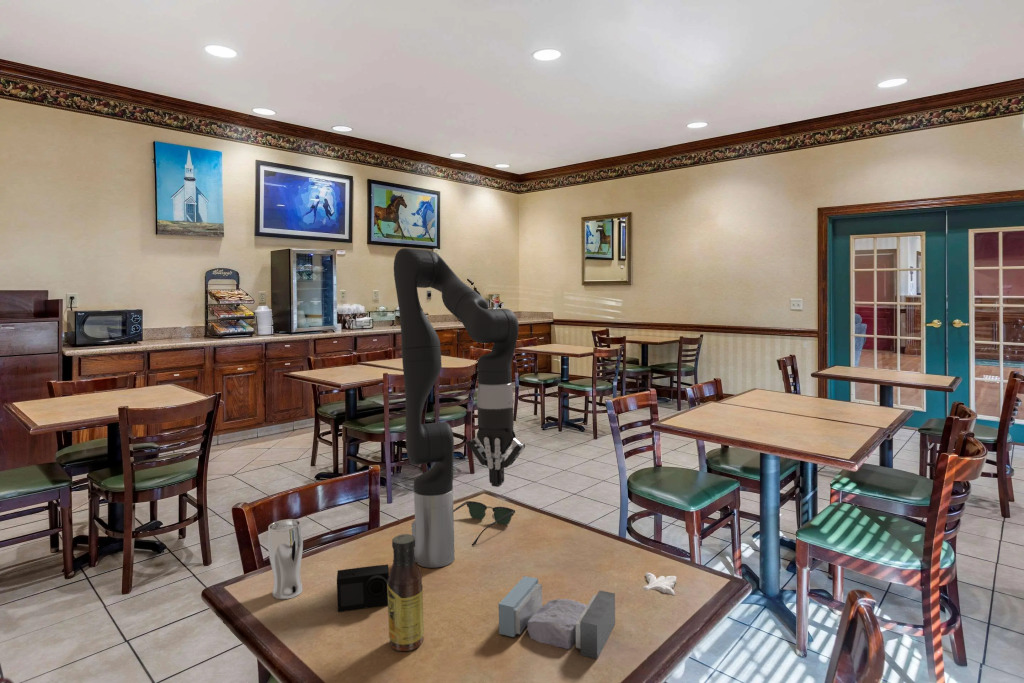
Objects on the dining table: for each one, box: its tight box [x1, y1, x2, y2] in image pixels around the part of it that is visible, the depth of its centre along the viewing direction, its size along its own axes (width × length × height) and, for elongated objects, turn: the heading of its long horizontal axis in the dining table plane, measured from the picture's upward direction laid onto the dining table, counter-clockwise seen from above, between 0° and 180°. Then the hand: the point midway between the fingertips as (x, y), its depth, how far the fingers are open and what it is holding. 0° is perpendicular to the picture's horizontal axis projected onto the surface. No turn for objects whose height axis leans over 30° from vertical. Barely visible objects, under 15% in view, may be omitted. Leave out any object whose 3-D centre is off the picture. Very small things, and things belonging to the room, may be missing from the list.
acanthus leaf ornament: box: [642, 572, 677, 596], centre depth 126 cm, size 8×7×2 cm
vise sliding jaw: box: [498, 575, 543, 638], centre depth 112 cm, size 4×12×6 cm, turn 155°
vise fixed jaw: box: [575, 590, 616, 660], centre depth 106 cm, size 4×12×6 cm, turn 155°
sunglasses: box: [453, 500, 516, 546], centre depth 159 cm, size 16×17×5 cm
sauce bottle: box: [387, 533, 425, 652], centre depth 105 cm, size 6×6×20 cm
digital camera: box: [336, 564, 390, 613], centre depth 120 cm, size 10×5×7 cm, turn 104°
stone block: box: [526, 598, 588, 650], centre depth 110 cm, size 12×5×10 cm
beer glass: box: [267, 518, 304, 600], centre depth 125 cm, size 7×7×15 cm
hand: (497, 485), depth 123 cm, fingers closed
